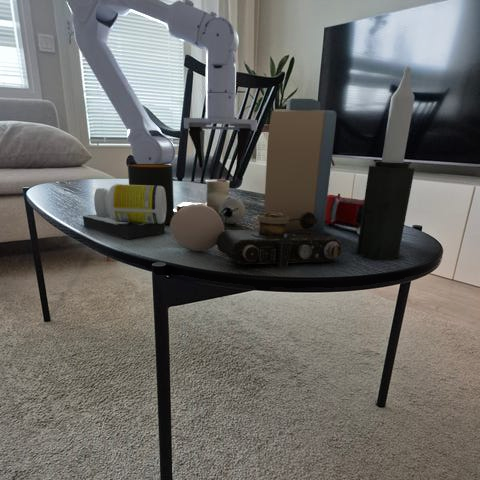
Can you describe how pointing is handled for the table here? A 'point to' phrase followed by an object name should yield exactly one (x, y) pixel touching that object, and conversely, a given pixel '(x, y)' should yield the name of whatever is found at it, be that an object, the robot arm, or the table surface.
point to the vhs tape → (122, 227)
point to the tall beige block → (299, 161)
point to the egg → (196, 227)
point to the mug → (155, 181)
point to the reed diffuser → (232, 211)
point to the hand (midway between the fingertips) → (220, 167)
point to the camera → (279, 242)
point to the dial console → (196, 203)
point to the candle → (389, 183)
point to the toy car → (344, 211)
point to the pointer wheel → (216, 192)
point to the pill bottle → (131, 203)
